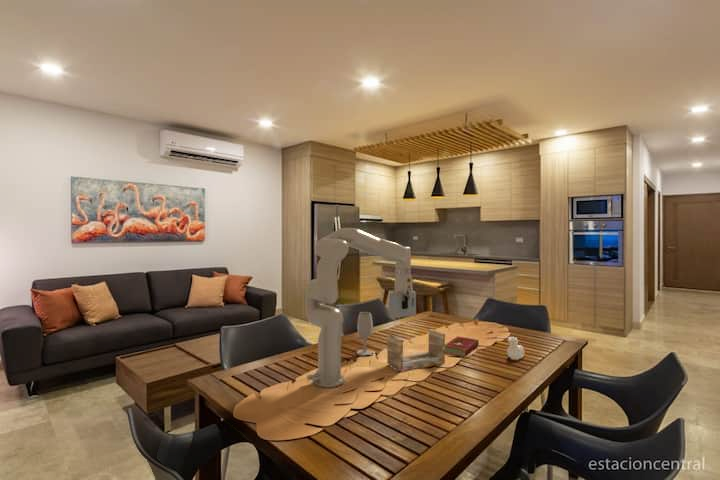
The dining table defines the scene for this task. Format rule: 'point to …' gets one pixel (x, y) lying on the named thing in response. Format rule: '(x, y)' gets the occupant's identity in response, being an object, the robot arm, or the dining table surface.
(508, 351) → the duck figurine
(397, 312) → the door panel
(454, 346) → the hardcover book
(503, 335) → the dining table surface
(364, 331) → the wineglass
